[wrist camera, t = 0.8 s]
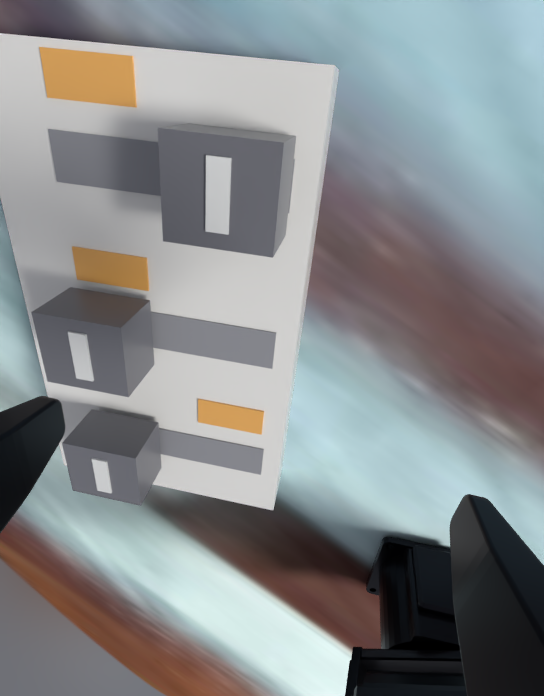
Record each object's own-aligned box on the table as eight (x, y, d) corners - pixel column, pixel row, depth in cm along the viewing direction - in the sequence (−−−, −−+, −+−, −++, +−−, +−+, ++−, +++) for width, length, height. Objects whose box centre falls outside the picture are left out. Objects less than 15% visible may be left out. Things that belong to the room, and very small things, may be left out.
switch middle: (154, 364, 21) (127, 398, 19) (81, 351, 22) (46, 382, 19) (150, 300, 20) (119, 329, 17) (70, 287, 20) (29, 313, 18)
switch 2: (285, 235, 17) (272, 258, 14) (190, 222, 17) (161, 241, 15) (296, 135, 15) (283, 143, 13) (188, 123, 15) (156, 127, 13)
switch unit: (281, 474, 29) (272, 511, 26) (89, 434, 30) (63, 466, 28) (339, 70, 17) (335, 64, 14) (16, 39, 18) (-42, 29, 16)
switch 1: (161, 467, 25) (140, 507, 23) (99, 454, 26) (71, 491, 23) (158, 422, 24) (134, 460, 21) (91, 409, 24) (60, 444, 21)
